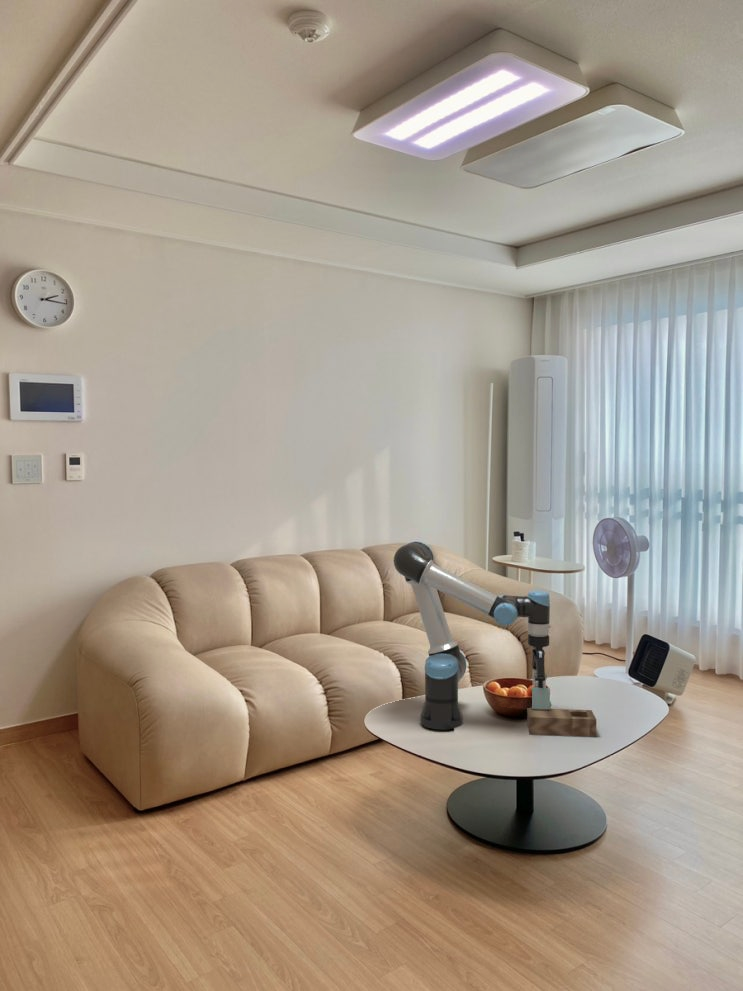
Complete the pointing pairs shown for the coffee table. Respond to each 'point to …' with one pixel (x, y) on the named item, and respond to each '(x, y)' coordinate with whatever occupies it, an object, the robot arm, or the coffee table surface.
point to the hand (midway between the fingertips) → (538, 692)
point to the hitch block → (561, 722)
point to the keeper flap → (540, 699)
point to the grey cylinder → (539, 676)
